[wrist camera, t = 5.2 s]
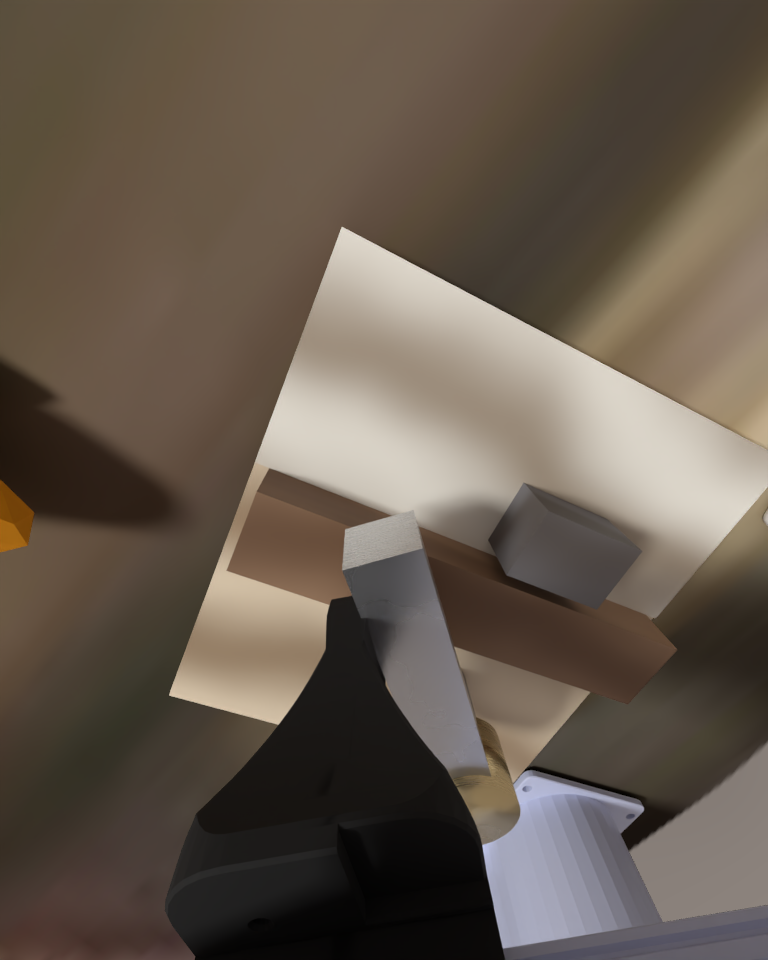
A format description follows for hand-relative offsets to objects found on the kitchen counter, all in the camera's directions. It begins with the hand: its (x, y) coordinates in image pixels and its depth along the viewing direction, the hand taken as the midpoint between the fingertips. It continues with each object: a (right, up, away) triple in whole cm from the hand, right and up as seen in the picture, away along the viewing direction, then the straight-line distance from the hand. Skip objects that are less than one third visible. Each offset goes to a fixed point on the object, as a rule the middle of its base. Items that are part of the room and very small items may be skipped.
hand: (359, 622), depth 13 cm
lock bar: (+2, -2, +2) cm, 3 cm away
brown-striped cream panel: (+3, +1, +5) cm, 6 cm away
